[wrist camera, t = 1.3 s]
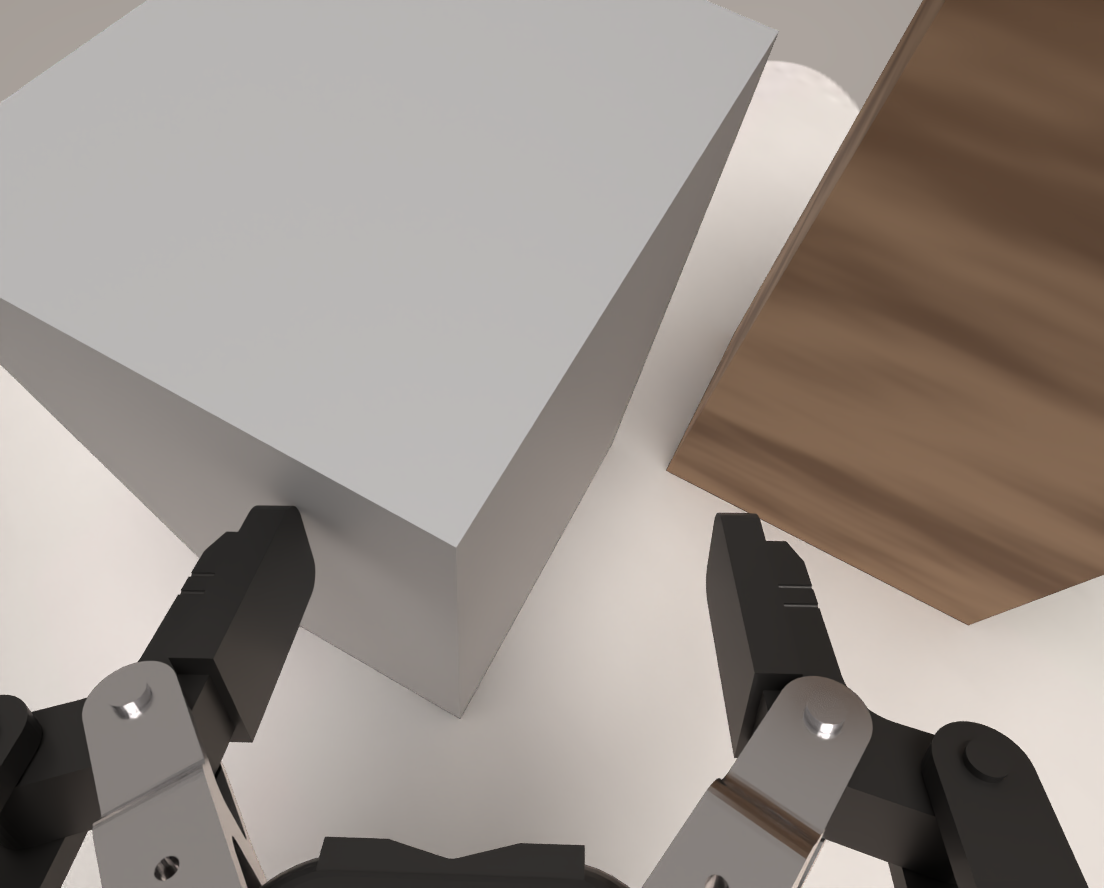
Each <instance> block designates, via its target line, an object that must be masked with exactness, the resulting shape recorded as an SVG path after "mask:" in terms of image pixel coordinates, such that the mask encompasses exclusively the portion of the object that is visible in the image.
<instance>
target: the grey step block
mask: <svg viewBox="0 0 1104 888" xmlns="http://www.w3.org/2000/svg"><path fill="white" fill-rule="evenodd" d="M778 32H779V31H778V30H776V29H773V28H771V27H769V26H766V25H764V24H761V23H759V22H757V21H754V20H752V19H749V18H747V17H745V16H742V15H740V14H738V13H735V12H733V11H730V10H728V9H726V8H723V7H721V6H719V5H716V4H714V3H711V2H709V1H707V0H147V1H145V2H144V3H142V4H141V5H139V6H138V7H136V8H135V9H134V10H132V11H131V12H129V13H128V14H126V15H125V16H124V17H122V18H121V19H119V20H118V21H116V22H115V23H114V24H112V25H111V26H109V27H108V28H106V29H105V30H103V31H102V32H101V33H99V34H98V35H96V36H95V37H94V38H92V39H91V40H89V41H88V42H86V43H85V44H83V45H82V46H81V47H79V48H78V49H76V50H75V51H73V52H72V53H71V54H69V55H68V56H66V57H65V58H63V59H62V60H61V61H59V62H58V63H56V64H55V65H53V66H52V67H50V68H49V69H48V70H46V71H45V72H44V73H42V74H40V75H39V76H38V77H36V78H35V79H33V80H32V81H30V82H29V83H27V84H26V85H25V86H23V87H22V88H20V89H19V90H18V91H16V92H15V93H13V94H12V95H10V96H9V97H7V98H6V99H5V100H3V101H2V102H0V365H1V366H2V367H4V368H5V369H6V370H7V371H8V372H9V373H10V374H11V375H12V376H13V377H14V378H15V379H16V380H17V381H18V382H19V383H20V384H21V385H22V386H23V387H24V388H25V389H26V390H27V391H28V392H29V393H30V394H31V395H32V396H33V397H34V398H35V399H36V400H37V401H38V402H39V403H40V404H42V405H43V406H44V407H45V408H46V409H47V410H48V411H49V412H50V413H51V414H52V415H53V416H54V417H55V418H56V419H57V420H58V421H59V422H60V423H61V424H62V425H63V426H64V427H65V428H66V429H67V430H68V431H69V432H70V433H71V434H72V435H73V436H74V437H75V438H76V439H77V440H78V441H79V442H81V443H82V444H83V445H84V446H85V447H86V448H87V449H88V450H89V451H90V452H91V453H92V454H93V455H94V456H95V457H96V458H97V459H98V460H99V461H100V462H101V463H102V464H103V465H104V466H105V467H106V468H107V469H108V470H109V471H110V472H111V473H112V474H113V475H114V476H115V477H116V478H117V479H119V480H120V481H121V482H122V483H123V484H124V485H125V486H126V487H127V488H128V489H129V490H130V491H131V492H132V493H133V494H134V495H135V496H136V497H137V498H138V499H139V500H140V501H141V502H142V503H143V504H144V505H145V506H146V507H147V508H148V509H149V510H150V511H151V512H152V513H153V514H154V515H155V516H156V517H158V518H159V519H160V520H161V521H162V522H163V523H164V524H165V525H166V526H167V527H168V528H169V529H170V530H171V531H172V532H173V533H174V534H175V535H176V536H177V537H178V538H179V539H180V540H181V541H182V542H183V543H184V544H185V545H186V546H187V547H188V548H189V549H190V550H191V551H192V552H193V553H194V554H196V555H197V556H198V557H199V558H200V557H201V555H202V554H203V552H204V550H206V549H207V548H208V547H209V546H210V545H211V544H212V543H214V542H215V541H216V540H217V539H218V538H219V537H221V536H222V535H223V534H224V533H225V532H226V531H228V532H238V531H239V529H240V528H241V526H242V524H243V522H244V520H245V519H246V517H247V515H248V513H249V512H250V510H251V509H252V508H253V507H254V506H256V505H279V506H296V507H297V509H298V510H299V511H300V514H301V517H302V521H303V524H304V528H305V531H306V534H307V538H308V541H309V544H310V548H311V551H312V554H313V558H314V562H315V584H314V589H313V592H312V595H311V598H310V600H309V603H308V605H307V608H306V610H305V613H304V615H303V618H302V620H301V623H300V625H299V626H301V627H303V628H305V629H306V630H308V631H310V632H311V633H313V634H315V635H317V636H318V637H320V638H322V639H323V640H325V641H327V642H329V643H330V644H332V645H334V646H335V647H337V648H339V649H341V650H342V651H344V652H346V653H348V654H349V655H351V656H353V657H354V658H356V659H358V660H360V661H361V662H363V663H365V664H366V665H368V666H370V667H372V668H373V669H375V670H377V671H378V672H380V673H382V674H384V675H385V676H387V677H389V678H391V679H392V680H394V681H396V682H397V683H399V684H401V685H403V686H404V687H406V688H408V689H409V690H411V691H413V692H415V693H416V694H418V695H420V696H421V697H423V698H425V699H427V700H428V701H430V702H432V703H433V704H435V705H437V706H439V707H440V708H442V709H444V710H446V711H447V712H449V713H451V714H452V715H454V716H456V717H458V718H459V719H460V718H461V716H462V715H463V713H464V711H465V709H466V707H467V705H468V704H469V702H470V700H471V698H472V696H473V695H474V693H475V691H476V689H477V687H478V686H479V684H480V682H481V680H482V678H483V677H484V675H485V673H486V671H487V669H488V667H489V666H490V664H491V662H492V660H493V658H494V657H495V655H496V653H497V651H498V649H499V648H500V646H501V644H502V642H503V640H504V638H505V637H506V635H507V633H508V631H509V629H510V628H511V626H512V624H513V622H514V620H515V619H516V617H517V615H518V613H519V611H520V609H521V608H522V606H523V604H524V602H525V600H526V599H527V597H528V595H529V593H530V591H531V590H532V588H533V586H534V584H535V582H536V580H537V579H538V577H539V575H540V573H541V571H542V570H543V568H544V566H545V564H546V562H547V561H548V559H549V557H550V555H551V553H552V552H553V550H554V548H555V546H556V544H557V542H558V541H559V539H560V537H561V535H562V533H563V532H564V530H565V528H566V526H567V524H568V523H569V521H570V519H571V517H572V515H573V513H574V512H575V510H576V508H577V506H578V504H579V503H580V501H581V499H582V497H583V495H584V494H585V492H586V490H587V488H588V486H589V484H590V483H591V481H592V479H593V477H594V475H595V474H596V472H597V470H598V468H599V466H600V465H601V463H602V461H603V459H604V457H605V456H606V454H607V452H608V450H609V448H610V446H611V445H612V443H613V440H614V438H615V435H616V433H617V430H618V428H619V425H620V423H621V420H622V418H623V416H624V413H625V411H626V408H627V406H628V403H629V401H630V398H631V396H632V393H633V391H634V388H635V386H636V383H637V381H638V378H639V376H640V374H641V371H642V369H643V366H644V364H645V361H646V359H647V356H648V354H649V351H650V349H651V346H652V344H653V341H654V339H655V336H656V334H657V331H658V329H659V327H660V324H661V322H662V319H663V317H664V314H665V312H666V309H667V307H668V304H669V302H670V299H671V297H672V294H673V292H674V289H675V287H676V285H677V282H678V280H679V277H680V275H681V272H682V270H683V267H684V265H685V262H686V260H687V257H688V255H689V252H690V250H691V247H692V245H693V243H694V240H695V238H696V235H697V233H698V230H699V228H700V225H701V223H702V220H703V218H704V215H705V213H706V210H707V208H708V205H709V203H710V201H711V198H712V196H713V193H714V191H715V188H716V186H717V183H718V181H719V178H720V176H721V173H722V171H723V168H724V166H725V163H726V161H727V158H728V156H729V154H730V151H731V149H732V146H733V144H734V141H735V139H736V136H737V134H738V131H739V129H740V126H741V124H742V121H743V119H744V116H745V114H746V112H747V109H748V107H749V104H750V102H751V99H752V97H753V94H754V92H755V89H756V87H757V84H758V82H759V79H760V77H761V74H762V72H763V70H764V67H765V65H766V62H767V59H768V57H769V55H770V52H771V50H772V47H773V45H774V42H775V40H776V37H777V35H778Z"/></svg>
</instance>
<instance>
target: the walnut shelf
mask: <svg viewBox="0 0 1104 888" xmlns="http://www.w3.org/2000/svg"><path fill="white" fill-rule="evenodd" d="M666 471H668V472H670V473H672V474H674V475H676V476H678V477H680V478H682V479H684V480H686V481H688V482H690V483H692V484H694V485H696V486H698V487H700V488H702V489H704V490H705V491H707V492H709V493H711V494H713V495H715V496H717V497H719V498H721V499H723V500H725V501H727V502H729V503H731V504H733V505H735V506H737V507H739V508H741V509H743V510H745V511H746V512H748V513H756V514H757V515H758V516H759V518H760V519H762V520H764V521H766V522H768V523H770V524H772V525H774V526H776V527H778V528H780V529H782V530H784V531H786V532H787V533H789V534H791V535H793V536H795V537H797V538H799V539H801V540H803V541H805V542H807V543H809V544H811V545H813V546H815V547H817V548H819V549H821V550H823V551H825V552H827V553H828V554H830V555H832V556H834V557H836V558H838V559H840V560H842V561H844V562H846V563H848V564H850V565H852V566H854V567H856V568H858V569H860V570H862V571H864V572H866V573H868V574H870V575H871V576H873V577H875V578H877V579H879V580H881V581H883V582H885V583H887V584H889V585H891V586H893V587H895V588H897V589H899V590H901V591H903V592H905V593H907V594H909V595H911V596H912V597H914V598H916V599H918V600H920V601H922V602H924V603H926V604H928V605H930V606H932V607H934V608H936V609H938V610H940V611H942V612H944V613H946V614H948V615H950V616H952V617H953V618H955V619H957V620H959V621H961V622H963V623H965V624H967V625H970V624H973V623H976V622H978V621H981V620H984V619H986V618H989V617H992V616H994V615H997V614H1000V613H1002V612H1005V611H1008V610H1010V609H1013V608H1016V607H1018V606H1021V605H1024V604H1027V603H1029V602H1032V601H1035V600H1037V599H1040V598H1043V597H1045V596H1048V595H1051V594H1053V593H1056V592H1059V591H1061V590H1064V589H1067V588H1069V587H1072V586H1075V585H1077V584H1080V583H1083V582H1085V581H1088V580H1091V579H1093V578H1096V577H1099V576H1101V575H1104V0H923V1H922V3H921V5H920V7H919V8H918V10H917V12H916V14H915V15H914V17H913V19H912V21H911V23H910V24H909V26H908V28H907V30H906V31H905V33H904V35H903V37H902V38H901V40H900V42H899V44H898V45H897V47H896V49H895V51H894V52H893V54H892V56H891V58H890V59H889V61H888V63H887V65H886V67H885V68H884V70H883V72H882V74H881V75H880V77H879V79H878V81H877V82H876V84H875V86H874V88H873V89H872V91H871V93H870V95H869V97H868V98H867V100H866V102H865V104H864V105H863V107H862V109H861V111H860V112H859V114H858V116H857V118H856V119H855V121H854V123H853V125H852V127H851V128H850V130H849V132H848V134H847V135H846V137H845V139H844V141H843V142H842V144H841V146H840V148H839V150H838V151H837V153H836V155H835V157H834V158H833V160H832V162H831V164H830V165H829V167H828V169H827V171H826V172H825V174H824V176H823V178H822V180H821V181H820V183H819V185H818V187H817V188H816V190H815V192H814V194H813V195H812V197H811V199H810V201H809V202H808V204H807V206H806V208H805V210H804V211H803V213H802V215H801V217H800V218H799V220H798V222H797V224H796V225H795V227H794V229H793V231H792V233H791V234H790V236H789V238H788V240H787V241H786V243H785V245H784V247H783V248H782V250H781V252H780V254H779V255H778V257H777V259H776V261H775V263H774V264H773V266H772V268H771V270H770V271H769V273H768V275H767V277H766V278H765V280H764V282H763V284H762V286H761V287H760V289H759V291H758V293H757V294H756V296H755V298H754V300H753V301H752V303H751V305H750V307H749V308H748V310H747V312H746V314H745V316H744V317H743V319H742V321H741V323H740V324H739V326H738V328H737V330H736V331H735V333H734V335H733V337H732V339H731V341H730V343H729V345H728V347H727V349H726V351H725V353H724V355H723V357H722V360H721V362H720V364H719V366H718V368H717V370H716V372H715V374H714V376H713V378H712V380H711V382H710V384H709V386H708V388H707V390H706V392H705V394H704V396H703V398H702V400H701V402H700V404H699V406H698V408H697V410H696V412H695V414H694V416H693V418H692V420H691V422H690V424H689V426H688V428H687V430H686V432H685V434H684V436H683V438H682V440H681V442H680V444H679V446H678V448H677V450H676V452H675V454H674V456H673V458H672V460H671V462H670V464H669V466H668V468H667V470H666Z"/></svg>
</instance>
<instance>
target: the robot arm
mask: <svg viewBox="0 0 1104 888" xmlns="http://www.w3.org/2000/svg"><path fill="white" fill-rule="evenodd" d="M191 573H192V575H191V577H188V579H187V581H186V582H185V584H184V586H183V587H182V589H181V594H180V595H178V596H177V597H176V599H175V601H174V603H173V604H172V606H171V608H170V609H169V611H168V613H167V614H166V616H165V618H164V619H163V621H162V623H161V624H160V626H159V628H158V629H157V631H156V633H155V635H154V636H153V638H152V640H151V641H150V643H149V645H148V646H147V648H146V650H145V651H144V653H143V655H142V656H141V658H140V660H139V661H138V662H137V663H133V664H130V665H127V666H125V667H122V668H120V669H119V670H117V671H115V672H113V673H112V674H110V675H109V676H107V677H106V678H105V679H103V680H102V681H101V682H100V683H99V684H98V685H97V686H96V687H95V688H94V689H93V690H92V692H91V693H90V694H89V696H88V698H84V699H81V700H77V701H73V702H69V703H65V704H61V705H57V706H53V707H49V708H45V709H41V710H37V711H33V712H31V711H30V710H29V708H28V707H27V706H26V704H25V703H24V702H23V701H22V700H21V699H19V698H17V697H15V696H11V695H0V888H61V886H62V884H63V882H64V880H65V878H66V876H67V874H68V872H69V869H70V867H71V865H72V863H73V861H74V859H75V857H76V855H77V853H78V851H79V849H80V847H81V845H82V842H83V840H84V838H85V836H86V834H87V832H88V831H89V830H92V831H93V840H94V845H95V851H96V856H97V862H98V867H99V873H100V878H101V883H102V888H630V887H628V886H627V885H626V884H624V883H623V882H621V881H619V880H618V879H616V878H615V877H613V876H611V875H609V874H607V873H605V872H603V871H601V870H599V869H597V868H594V867H591V866H588V865H585V864H584V862H585V845H558V844H528V843H519V844H515V845H511V846H507V847H502V848H498V849H494V850H490V851H486V852H482V853H477V854H473V855H469V856H465V857H461V858H455V859H448V858H444V857H441V856H438V855H435V854H432V853H429V852H426V851H423V850H420V849H417V848H414V847H411V846H408V845H405V844H402V843H399V842H396V841H393V840H390V839H377V838H346V837H325V839H324V842H323V846H322V849H321V853H320V856H319V858H315V859H312V860H309V861H306V862H304V863H301V864H298V865H296V866H294V867H292V868H290V869H288V870H286V871H284V872H282V873H280V874H279V875H277V876H275V877H274V878H272V879H271V880H269V881H267V879H266V877H265V874H264V872H263V870H262V868H261V865H260V863H259V861H258V859H257V856H256V854H255V851H254V849H253V846H252V843H251V840H250V837H249V835H248V832H247V829H246V826H245V823H244V821H243V818H242V815H241V812H240V809H239V807H238V804H237V801H236V798H235V795H234V792H233V790H232V787H231V784H230V781H229V778H228V776H227V773H226V770H225V767H224V765H223V763H222V761H221V760H222V758H223V755H224V753H225V751H226V748H227V746H228V744H229V742H253V740H254V738H255V735H256V733H257V730H258V728H259V725H260V723H261V720H262V718H263V715H264V713H265V710H266V708H267V705H268V703H269V700H270V698H271V695H272V693H273V690H274V688H275V685H276V683H277V680H278V678H279V675H280V673H281V670H282V668H283V665H284V663H285V660H286V658H287V655H288V653H289V650H290V648H291V645H292V643H293V640H294V638H295V635H296V633H297V630H298V628H299V625H300V623H301V620H302V618H303V615H304V613H305V610H306V608H307V605H308V603H309V600H310V598H311V595H312V592H313V589H314V584H315V562H314V558H313V554H312V551H311V548H310V544H309V541H308V538H307V534H306V531H305V528H304V524H303V521H302V517H301V514H300V511H299V510H298V509H297V507H296V506H279V505H256V506H254V507H253V508H252V509H251V510H250V512H249V513H248V515H247V517H246V519H245V520H244V522H243V524H242V526H241V528H240V529H239V531H238V532H228V531H226V532H225V533H224V534H223V535H222V536H221V537H219V538H218V539H217V540H216V541H215V542H214V543H212V544H211V545H210V546H209V547H208V548H207V549H206V550H204V552H203V554H202V555H201V557H200V559H199V560H198V562H197V564H196V565H195V567H194V569H193V571H192V572H191ZM706 593H707V602H708V608H709V614H710V620H711V626H712V631H713V637H714V643H715V649H716V655H717V661H718V666H719V672H720V678H721V684H722V690H723V696H724V701H725V707H726V713H727V719H728V725H729V731H730V736H731V742H732V748H733V754H734V758H737V760H736V761H735V763H734V764H733V766H732V767H731V769H730V770H729V772H728V773H727V775H726V776H725V777H724V778H723V779H722V780H721V779H720V778H718V779H716V780H715V781H714V782H713V783H712V784H711V786H710V787H709V788H708V789H707V791H706V792H705V794H704V795H703V797H702V798H701V800H700V801H699V803H698V804H697V806H696V807H695V809H694V810H693V812H692V813H691V815H690V816H689V818H688V819H687V821H686V822H685V824H684V825H683V827H682V828H681V830H680V831H679V833H678V834H677V836H676V837H675V839H674V840H673V842H672V843H671V845H670V846H669V848H668V849H667V851H666V852H665V854H664V855H663V857H662V858H661V860H660V861H659V863H658V864H657V866H656V867H655V869H654V870H653V872H652V873H651V875H650V876H649V878H648V879H647V881H646V882H645V884H644V885H643V887H642V888H802V887H803V885H804V883H805V881H806V879H807V877H808V875H809V873H810V871H811V869H812V867H813V865H814V863H815V861H816V859H817V857H818V855H819V853H820V851H821V849H822V847H823V845H824V843H825V841H826V839H827V840H829V841H832V842H835V843H838V844H840V845H843V846H846V847H848V848H851V849H854V850H857V851H859V852H862V853H865V854H867V855H870V856H873V857H876V858H878V859H881V860H884V861H887V862H888V864H889V868H890V872H891V876H892V880H893V884H894V888H1088V885H1087V883H1086V881H1085V879H1084V876H1083V874H1082V872H1081V870H1080V868H1079V865H1078V863H1077V861H1076V859H1075V857H1074V854H1073V852H1072V850H1071V848H1070V846H1069V843H1068V841H1067V839H1066V837H1065V834H1064V832H1063V830H1062V828H1061V826H1060V823H1059V821H1058V819H1057V817H1056V815H1055V812H1054V810H1053V808H1052V806H1051V803H1050V801H1049V799H1048V797H1047V795H1046V792H1045V790H1044V788H1043V786H1042V784H1041V781H1040V779H1039V777H1038V775H1037V772H1036V770H1035V768H1034V766H1033V765H1032V763H1031V761H1030V759H1029V758H1028V757H1027V755H1026V754H1025V753H1024V752H1023V751H1022V750H1021V748H1020V747H1019V746H1018V745H1016V744H1015V743H1014V742H1013V741H1012V740H1011V739H1009V738H1008V737H1006V736H1005V735H1003V734H1002V733H1000V732H998V731H996V730H995V729H992V728H990V727H988V726H985V725H982V724H978V723H974V722H967V721H958V722H952V723H949V724H947V725H945V726H943V727H942V728H940V729H939V730H938V731H937V733H936V734H935V735H933V734H930V733H927V732H924V731H921V730H917V729H914V728H911V727H908V726H904V725H901V724H898V723H895V722H892V721H889V720H887V719H885V718H883V717H881V716H879V715H877V714H875V713H873V712H872V711H870V710H869V709H867V707H866V705H865V704H864V702H863V701H862V700H861V699H860V698H859V697H858V695H857V694H856V693H854V692H853V691H852V690H851V689H849V688H848V687H847V686H846V684H845V683H844V680H843V678H842V675H841V672H840V669H839V666H838V663H837V660H836V657H835V654H834V651H833V648H832V645H831V642H830V639H829V636H828V633H827V630H826V627H825V624H824V621H823V618H822V615H821V612H820V608H818V602H817V599H816V596H815V593H814V590H813V589H812V584H811V581H810V578H809V575H808V572H807V569H806V566H805V563H804V561H803V560H802V559H801V558H800V557H799V555H798V554H797V553H796V552H795V551H794V550H793V549H792V547H791V546H790V545H789V544H788V543H787V542H786V541H766V540H765V536H764V532H763V529H762V525H761V522H760V518H759V516H758V515H757V514H756V513H717V514H716V516H715V520H714V526H713V533H712V539H711V546H710V552H709V558H708V565H707V573H706Z"/></svg>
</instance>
